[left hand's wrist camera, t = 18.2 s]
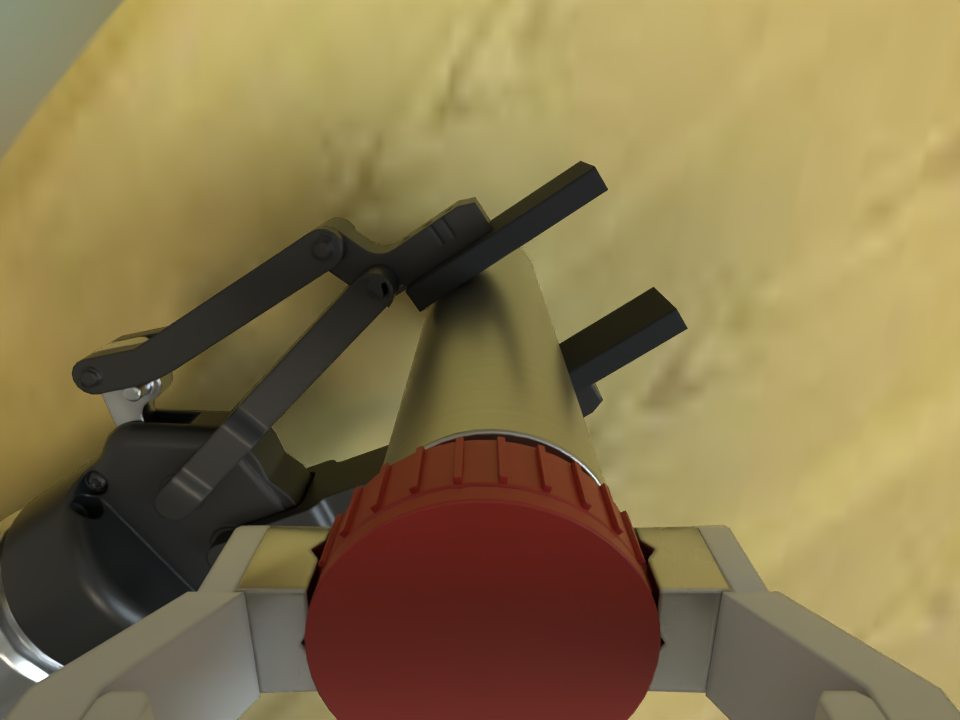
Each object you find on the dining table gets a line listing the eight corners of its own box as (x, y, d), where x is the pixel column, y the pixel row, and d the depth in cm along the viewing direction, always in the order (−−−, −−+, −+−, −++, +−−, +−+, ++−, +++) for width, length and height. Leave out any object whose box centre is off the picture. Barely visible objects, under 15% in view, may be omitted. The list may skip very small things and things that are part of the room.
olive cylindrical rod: (545, 318, 28) (659, 681, 10) (452, 342, 28) (399, 731, 10) (523, 224, 26) (607, 447, 8) (425, 249, 27) (307, 516, 9)
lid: (404, 378, 9) (389, 431, 8) (699, 515, 10) (741, 589, 8) (279, 626, 11) (245, 712, 9) (543, 727, 11) (553, 823, 10)
